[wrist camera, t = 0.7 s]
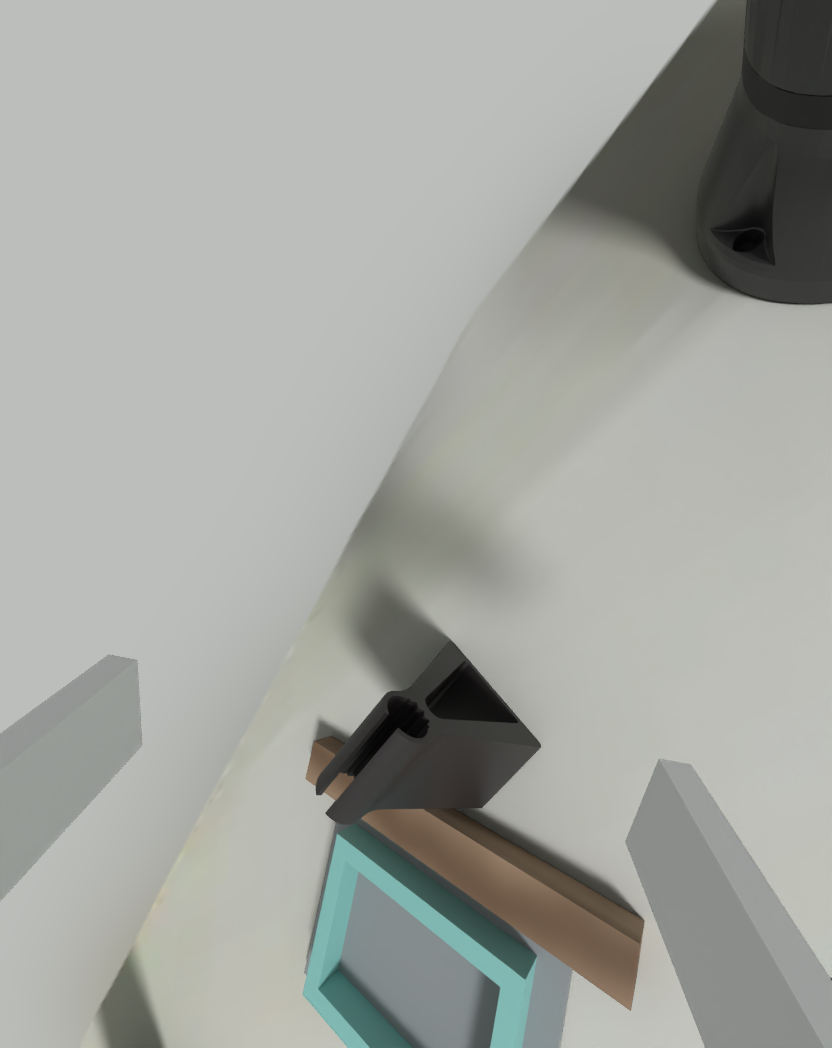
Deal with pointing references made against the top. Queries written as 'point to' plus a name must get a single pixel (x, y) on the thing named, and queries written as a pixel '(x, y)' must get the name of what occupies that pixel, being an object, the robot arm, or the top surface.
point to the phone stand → (431, 745)
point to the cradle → (423, 958)
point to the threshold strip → (512, 886)
